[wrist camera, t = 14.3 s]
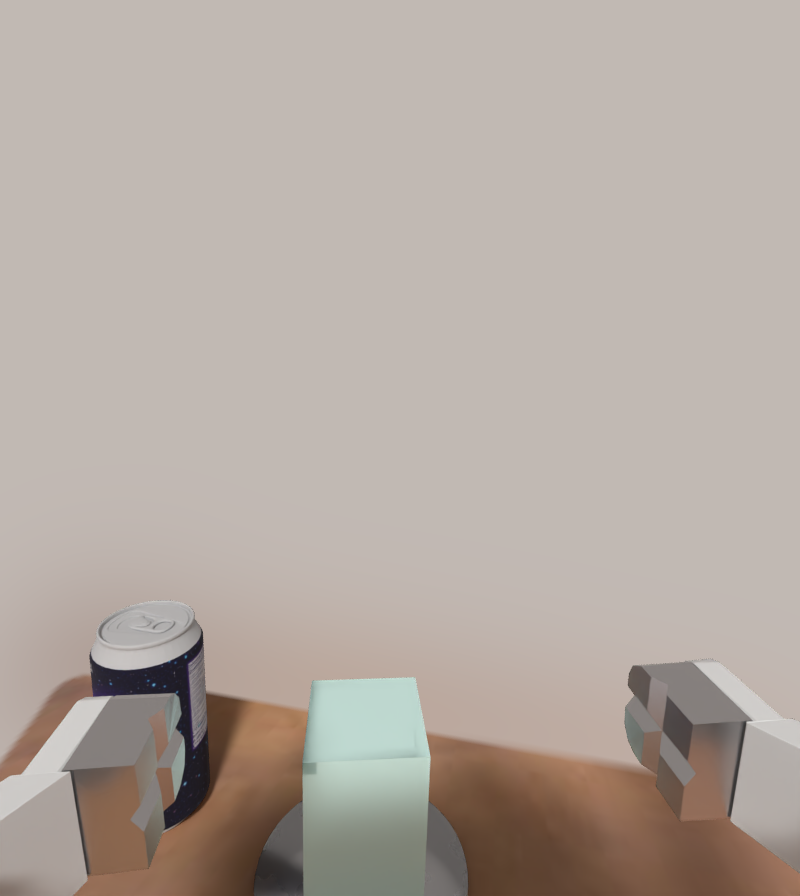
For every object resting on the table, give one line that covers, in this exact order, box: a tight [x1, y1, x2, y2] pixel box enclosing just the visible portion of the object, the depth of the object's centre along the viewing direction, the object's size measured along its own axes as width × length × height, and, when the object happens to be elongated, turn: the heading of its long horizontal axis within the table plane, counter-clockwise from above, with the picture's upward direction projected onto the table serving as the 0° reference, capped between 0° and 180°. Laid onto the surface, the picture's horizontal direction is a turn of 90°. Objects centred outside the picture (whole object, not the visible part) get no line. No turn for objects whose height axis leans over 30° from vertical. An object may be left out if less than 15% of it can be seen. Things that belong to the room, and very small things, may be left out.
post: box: [254, 801, 468, 896], centre depth 26 cm, size 11×11×8 cm
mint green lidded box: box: [303, 677, 430, 896], centre depth 26 cm, size 6×6×9 cm
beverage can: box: [90, 600, 210, 833], centre depth 30 cm, size 6×6×12 cm
